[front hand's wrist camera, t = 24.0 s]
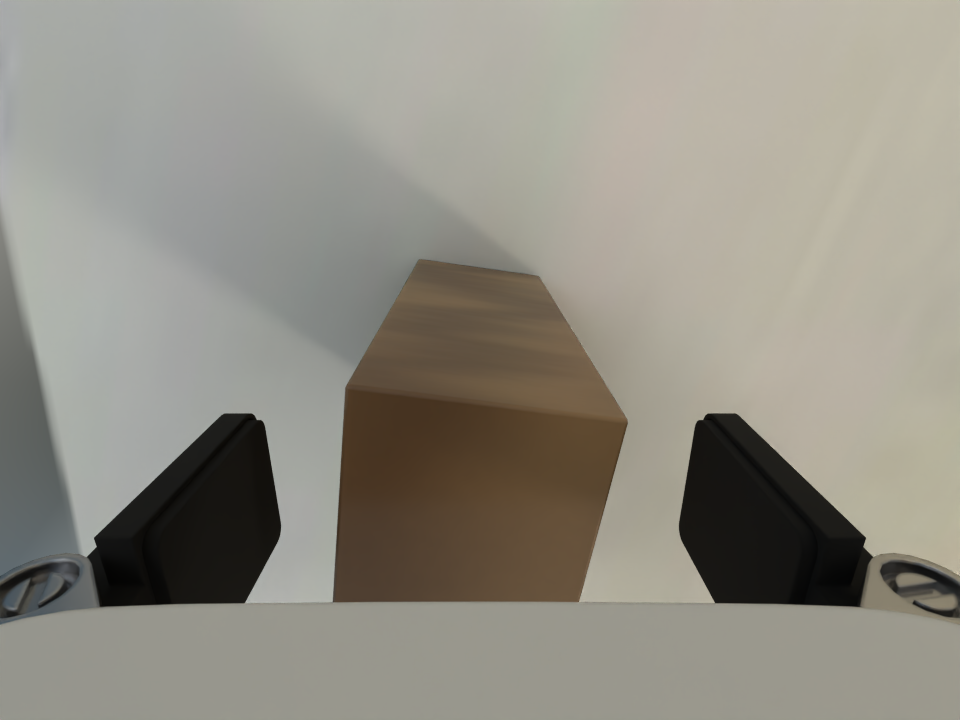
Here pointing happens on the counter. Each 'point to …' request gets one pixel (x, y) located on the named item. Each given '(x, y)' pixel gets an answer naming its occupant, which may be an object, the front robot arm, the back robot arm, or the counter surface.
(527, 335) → the block
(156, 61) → the counter surface
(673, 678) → the front robot arm
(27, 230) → the counter surface
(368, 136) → the counter surface
